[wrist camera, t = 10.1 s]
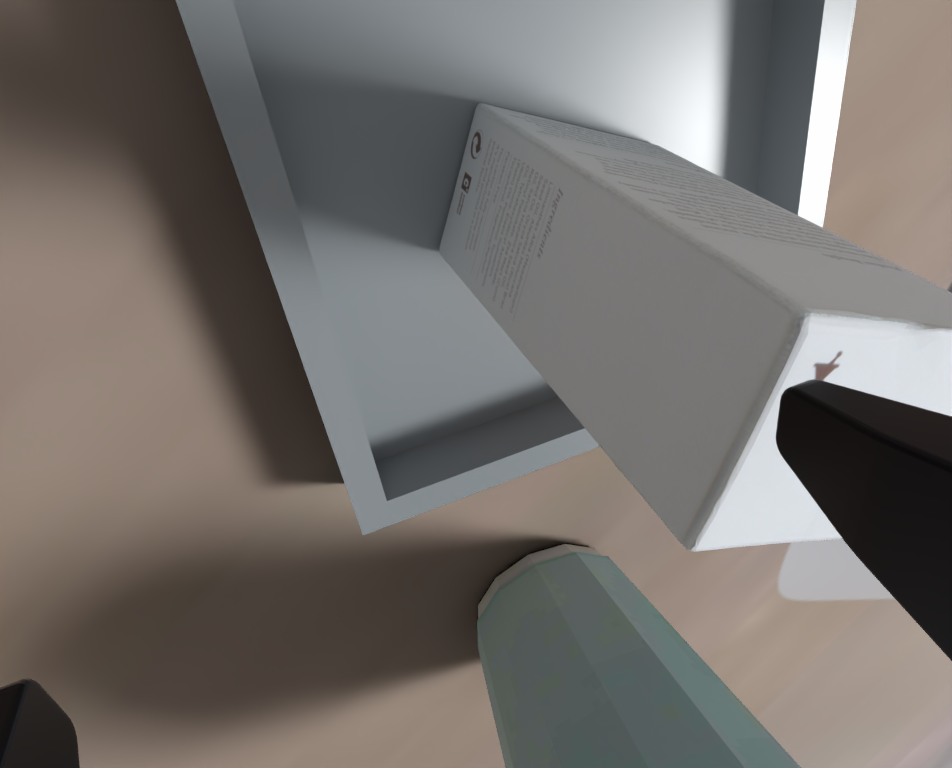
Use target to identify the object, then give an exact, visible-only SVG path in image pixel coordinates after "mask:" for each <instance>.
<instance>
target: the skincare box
mask: <svg viewBox="0 0 952 768" xmlns="http://www.w3.org/2000/svg"><path fill="white" fill-rule="evenodd" d="M439 252H440V254H441V256H442V257H443V258H444V260H445V261H446V262H447V263H448V264H449V265H450V267H451V268H452V269H453V270H454V272H455V273H456V274H457V275H458V276H459V278H460V279H461V280H462V281H463V282H464V284H465V285H466V286H467V287H468V288H469V289H470V291H471V292H472V293H473V294H474V295H475V297H476V298H477V299H478V300H479V302H480V303H481V304H482V305H483V306H484V308H485V309H486V310H487V311H488V312H489V313H490V315H491V316H492V317H493V318H494V319H495V321H496V322H497V323H498V324H499V326H500V327H501V328H502V329H503V330H504V332H505V333H506V334H507V335H508V336H509V338H510V339H511V340H512V341H513V342H514V344H515V345H516V346H517V347H518V349H519V350H520V351H521V352H522V353H523V355H524V356H525V357H526V358H527V359H528V361H529V362H530V363H531V364H532V365H533V367H534V368H535V369H536V370H537V371H538V373H539V374H540V375H541V376H542V377H543V378H544V379H545V380H546V382H547V383H548V384H549V386H550V387H551V388H552V389H553V390H554V391H555V393H556V394H557V395H558V396H559V398H560V399H561V400H562V401H563V402H564V403H565V405H566V406H567V407H568V408H569V410H570V411H571V412H572V413H573V415H574V416H575V417H576V418H577V419H578V420H579V422H580V423H581V424H582V425H583V426H584V428H585V429H586V430H587V431H588V432H589V434H590V435H591V436H592V437H593V438H594V440H595V441H596V442H597V443H598V444H599V446H600V447H601V448H602V449H603V450H604V452H605V453H606V454H607V455H608V456H609V457H610V459H611V460H612V461H613V462H614V464H615V465H616V466H617V467H618V469H619V470H620V471H621V472H622V473H623V475H624V476H625V477H626V478H627V479H628V480H629V482H630V483H631V484H632V485H633V486H634V488H635V489H636V490H637V491H638V492H639V493H640V495H641V496H642V497H643V498H644V499H645V501H646V502H647V503H648V504H649V505H650V507H651V508H652V509H653V510H654V511H655V513H656V514H657V515H658V516H659V517H660V519H661V520H662V521H663V522H664V523H665V525H666V526H667V527H668V528H669V530H670V531H671V532H672V533H673V534H674V536H675V537H676V538H677V539H678V541H679V542H680V543H681V544H682V545H683V546H684V547H685V548H686V549H687V550H690V551H705V550H715V549H724V548H733V547H744V546H755V545H765V544H777V543H791V542H804V541H817V540H830V539H843V538H842V537H841V536H840V535H839V533H838V532H837V531H836V529H835V528H834V526H833V525H832V524H831V522H830V521H829V520H828V518H827V517H826V516H825V514H824V513H823V512H822V510H821V509H820V508H819V506H818V505H817V503H816V502H815V501H814V499H813V498H812V497H811V495H810V494H809V493H808V491H807V490H806V489H805V487H804V486H803V485H802V483H801V482H800V480H799V479H798V478H797V476H796V475H795V474H794V472H793V471H792V470H791V468H790V467H789V466H788V464H787V463H786V462H785V460H784V459H783V457H782V456H781V454H780V452H779V450H778V447H777V444H776V429H777V421H778V413H779V406H780V399H781V395H782V394H783V392H784V391H785V390H786V389H787V388H789V387H792V386H794V385H797V384H799V383H802V382H805V381H807V380H812V379H817V380H822V381H826V382H829V383H833V384H836V385H840V386H844V387H847V388H851V389H855V390H858V391H862V392H865V393H869V394H873V395H876V396H880V397H884V398H887V399H891V400H894V401H898V402H902V403H905V404H909V405H913V406H916V407H920V408H923V409H927V410H931V411H934V412H938V413H941V414H945V415H949V416H952V293H951V292H949V291H947V290H945V289H943V288H941V287H939V286H937V285H936V284H934V283H932V282H930V281H928V280H926V279H924V278H922V277H920V276H918V275H916V274H914V273H912V272H910V271H908V270H906V269H904V268H902V267H900V266H898V265H896V264H894V263H892V262H890V261H888V260H886V259H884V258H882V257H880V256H878V255H876V254H874V253H872V252H870V251H868V250H866V249H864V248H862V247H860V246H858V245H856V244H854V243H852V242H850V241H848V240H846V239H844V238H842V237H840V236H838V235H836V234H834V233H832V232H830V231H828V230H826V229H824V228H822V227H820V226H818V225H816V224H814V223H812V222H810V221H808V220H806V219H804V218H802V217H800V216H798V215H796V214H794V213H792V212H790V211H788V210H786V209H784V208H782V207H780V206H778V205H776V204H773V203H771V202H769V201H767V200H765V199H763V198H761V197H759V196H757V195H755V194H753V193H751V192H749V191H748V190H746V189H744V188H742V187H740V186H738V185H736V184H734V183H732V182H730V181H728V180H726V179H724V178H722V177H720V176H718V175H716V174H714V173H712V172H710V171H708V170H706V169H704V168H702V167H700V166H697V165H696V164H694V163H692V162H690V161H688V160H686V159H684V158H682V157H680V156H678V155H676V154H674V153H672V152H670V151H668V150H666V149H664V148H662V147H660V146H658V145H654V144H650V143H646V142H642V141H638V140H634V139H630V138H626V137H622V136H617V135H613V134H609V133H604V132H600V131H596V130H592V129H588V128H584V127H580V126H576V125H571V124H567V123H563V122H559V121H555V120H551V119H546V118H542V117H538V116H533V115H529V114H525V113H521V112H516V111H512V110H508V109H504V108H499V107H495V106H491V105H487V104H483V103H479V104H478V105H477V107H476V109H475V113H474V117H473V121H472V124H471V128H470V132H469V136H468V140H467V144H466V148H465V151H464V155H463V160H462V164H461V168H460V171H459V175H458V179H457V183H456V186H455V191H454V195H453V199H452V202H451V206H450V209H449V213H448V217H447V221H446V225H445V228H444V232H443V235H442V239H441V244H440V248H439Z"/></svg>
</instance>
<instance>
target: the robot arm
mask: <svg viewBox="0 0 952 768" xmlns="http://www.w3.org/2000/svg"><path fill="white" fill-rule="evenodd" d="M776 444H777V447H778V450H779V452H780V454H781V456H782V457H783V459H784V460H785V462H786V463H787V464H788V466H789V467H790V468H791V470H792V471H793V472H794V474H795V475H796V476H797V478H798V479H799V480H800V482H801V483H802V485H803V486H804V487H805V489H806V490H807V491H808V493H809V494H810V495H811V497H812V498H813V499H814V501H815V502H816V503H817V505H818V506H819V508H820V509H821V510H822V512H823V513H824V514H825V516H826V517H827V518H828V520H829V521H830V522H831V524H832V525H833V526H834V528H835V529H836V531H837V532H838V533H839V535H840V536H841V537H842V538H843V539H844V541H845V542H846V543H847V544H848V546H849V547H850V548H851V549H852V551H853V552H854V553H855V554H856V556H857V557H858V558H859V559H860V560H861V561H862V562H863V563H864V565H865V566H866V567H867V568H868V569H869V570H870V571H871V572H872V574H873V575H874V576H875V577H876V578H877V579H878V580H879V581H880V582H881V584H882V585H883V586H884V587H885V588H886V589H887V590H888V591H889V592H890V593H891V594H892V596H893V597H894V598H895V599H896V600H897V601H898V602H899V603H900V604H901V606H902V607H903V608H904V609H905V610H906V611H907V612H908V613H909V614H910V615H911V617H912V618H913V619H914V620H915V621H916V622H917V623H918V624H919V625H920V627H921V628H922V629H923V630H924V631H925V632H926V633H927V634H928V635H929V636H930V638H931V639H932V640H933V641H934V642H935V643H936V644H937V645H938V646H939V647H940V649H941V650H942V651H943V652H944V653H945V654H946V655H947V656H948V657H949V658H950V660H951V661H952V416H949V415H945V414H941V413H938V412H934V411H931V410H927V409H923V408H920V407H916V406H913V405H909V404H905V403H902V402H898V401H894V400H891V399H887V398H884V397H880V396H876V395H873V394H869V393H865V392H862V391H858V390H855V389H851V388H847V387H844V386H840V385H836V384H833V383H829V382H826V381H822V380H817V379H812V380H807V381H805V382H802V383H799V384H797V385H794V386H792V387H789V388H787V389H786V390H785V391H784V392H783V394H782V395H781V399H780V406H779V413H778V421H777V429H776ZM0 768H80V767H79V755H78V743H77V736H76V732H75V728H74V726H73V723H72V721H71V720H70V718H69V717H68V715H67V714H66V713H65V712H64V711H63V710H62V709H61V708H60V707H59V705H58V704H57V703H56V702H55V701H54V700H53V699H52V698H51V697H50V695H49V694H48V693H47V692H46V691H45V690H44V689H43V688H42V687H41V685H40V684H38V683H37V682H36V681H34V680H32V679H22V680H20V681H17V682H14V683H12V684H9V685H6V686H4V687H1V688H0Z"/></svg>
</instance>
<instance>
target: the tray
mask: <svg viewBox="0 0 952 768" xmlns="http://www.w3.org/2000/svg"><path fill="white" fill-rule="evenodd" d="M176 3H177V6H178V9H179V12H180V15H181V17H182V20H183V23H184V26H185V29H186V32H187V35H188V37H189V40H190V43H191V46H192V49H193V52H194V55H195V57H196V60H197V63H198V66H199V69H200V72H201V75H202V77H203V80H204V83H205V86H206V89H207V92H208V95H209V97H210V100H211V103H212V106H213V109H214V112H215V115H216V117H217V120H218V123H219V126H220V129H221V132H222V135H223V137H224V140H225V143H226V146H227V149H228V152H229V155H230V157H231V160H232V163H233V166H234V169H235V172H236V175H237V177H238V180H239V183H240V186H241V189H242V192H243V195H244V197H245V200H246V203H247V206H248V209H249V212H250V215H251V217H252V220H253V223H254V226H255V229H256V232H257V235H258V237H259V240H260V243H261V246H262V249H263V252H264V255H265V257H266V260H267V263H268V266H269V269H270V272H271V275H272V277H273V280H274V283H275V286H276V289H277V292H278V295H279V297H280V300H281V303H282V306H283V309H284V312H285V315H286V317H287V320H288V323H289V326H290V329H291V332H292V335H293V337H294V340H295V343H296V346H297V349H298V352H299V355H300V357H301V360H302V363H303V366H304V369H305V372H306V375H307V377H308V380H309V383H310V386H311V389H312V392H313V395H314V397H315V400H316V403H317V406H318V409H319V412H320V415H321V417H322V420H323V423H324V426H325V429H326V432H327V435H328V437H329V440H330V443H331V446H332V449H333V452H334V455H335V457H336V460H337V463H338V466H339V469H340V472H341V475H342V477H343V480H344V483H345V486H346V489H347V492H348V495H349V497H350V500H351V503H352V506H353V509H354V512H355V515H356V517H357V520H358V523H359V526H360V529H361V532H362V535H366V534H369V533H371V532H374V531H377V530H379V529H382V528H385V527H387V526H390V525H393V524H395V523H398V522H400V521H403V520H406V519H408V518H411V517H414V516H416V515H419V514H422V513H424V512H427V511H430V510H432V509H435V508H438V507H440V506H443V505H446V504H448V503H451V502H454V501H456V500H459V499H462V498H464V497H467V496H469V495H472V494H475V493H477V492H480V491H483V490H485V489H488V488H491V487H493V486H496V485H499V484H501V483H504V482H507V481H509V480H512V479H515V478H517V477H520V476H523V475H525V474H528V473H531V472H533V471H536V470H538V469H541V468H544V467H546V466H549V465H552V464H554V463H557V462H560V461H562V460H565V459H568V458H570V457H573V456H576V455H578V454H581V453H584V452H586V451H589V450H592V449H594V448H597V447H600V446H599V444H598V443H597V442H596V441H595V440H594V438H593V437H592V436H591V435H590V434H589V432H588V431H587V430H586V429H585V428H584V426H583V425H582V424H581V423H580V422H579V420H578V419H577V418H576V417H575V416H574V415H573V413H572V412H571V411H570V410H569V408H568V407H567V406H566V405H565V403H564V402H563V401H562V400H561V399H560V398H559V396H558V395H557V394H556V393H555V391H554V390H553V389H552V388H551V387H550V386H549V384H548V383H547V382H546V380H545V379H544V378H543V377H542V376H541V375H540V374H539V373H538V371H537V370H536V369H535V368H534V367H533V365H532V364H531V363H530V362H529V361H528V359H527V358H526V357H525V356H524V355H523V353H522V352H521V351H520V350H519V349H518V347H517V346H516V345H515V344H514V342H513V341H512V340H511V339H510V338H509V336H508V335H507V334H506V333H505V332H504V330H503V329H502V328H501V327H500V326H499V324H498V323H497V322H496V321H495V319H494V318H493V317H492V316H491V315H490V313H489V312H488V311H487V310H486V309H485V308H484V306H483V305H482V304H481V303H480V302H479V300H478V299H477V298H476V297H475V295H474V294H473V293H472V292H471V291H470V289H469V288H468V287H467V286H466V285H465V284H464V282H463V281H462V280H461V279H460V278H459V276H458V275H457V274H456V273H455V272H454V270H453V269H452V268H451V267H450V265H449V264H448V263H447V262H446V261H445V260H444V258H443V257H442V256H441V254H440V252H439V248H440V244H441V239H442V235H443V232H444V228H445V225H446V221H447V217H448V213H449V209H450V206H451V202H452V199H453V195H454V191H455V186H456V183H457V179H458V175H459V171H460V168H461V164H462V160H463V155H464V151H465V148H466V144H467V140H468V136H469V132H470V128H471V124H472V121H473V117H474V113H475V109H476V107H477V105H478V104H479V103H483V104H487V105H491V106H495V107H499V108H504V109H508V110H512V111H516V112H521V113H525V114H529V115H533V116H538V117H542V118H546V119H551V120H555V121H559V122H563V123H567V124H571V125H576V126H580V127H584V128H588V129H592V130H596V131H600V132H604V133H609V134H613V135H617V136H622V137H626V138H630V139H634V140H638V141H642V142H646V143H650V144H654V145H658V146H660V147H662V148H664V149H666V150H668V151H670V152H672V153H674V154H676V155H678V156H680V157H682V158H684V159H686V160H688V161H690V162H692V163H694V164H696V165H697V166H700V167H702V168H704V169H706V170H708V171H710V172H712V173H714V174H716V175H718V176H720V177H722V178H724V179H726V180H728V181H730V182H732V183H734V184H736V185H738V186H740V187H742V188H744V189H746V190H748V191H749V192H751V193H753V194H755V195H757V196H759V197H761V198H763V199H765V200H767V201H769V202H771V203H773V204H776V205H778V206H780V207H782V208H784V209H786V210H788V211H790V212H792V213H794V214H796V215H798V216H800V217H802V218H804V219H806V220H808V221H810V222H812V223H814V224H816V225H818V226H820V227H822V228H823V222H824V215H825V208H826V202H827V195H828V188H829V182H830V175H831V168H832V161H833V155H834V148H835V141H836V134H837V128H838V121H839V114H840V107H841V101H842V94H843V87H844V81H845V74H846V67H847V60H848V54H849V47H850V40H851V33H852V27H853V20H854V13H855V6H856V0H176Z"/></svg>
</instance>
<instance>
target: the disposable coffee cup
mask: <svg viewBox="0 0 952 768" xmlns="http://www.w3.org/2000/svg"><path fill="white" fill-rule="evenodd" d="M477 635H478V650H479V655H480V659H481V663H482V668H483V672H484V676H485V681H486V685H487V689H488V694H489V698H490V702H491V706H492V711H493V715H494V719H495V724H496V728H497V732H498V737H499V741H500V745H501V749H502V754H503V758H504V762H505V767H506V768H801V767H800V766H799V765H798V764H797V763H796V762H795V761H794V759H793V758H792V757H791V756H790V755H789V754H788V753H787V752H786V751H785V750H784V749H783V747H782V746H781V745H780V744H779V743H778V742H777V741H776V740H775V739H774V738H773V736H772V735H771V734H770V733H769V732H768V731H767V730H766V729H765V728H764V727H763V725H762V724H761V723H760V722H759V721H758V720H757V719H756V718H755V717H754V716H753V715H752V713H751V712H750V711H749V710H748V709H747V708H746V707H745V706H744V705H743V704H742V702H741V701H740V700H739V699H738V698H737V697H736V696H735V695H734V694H733V693H732V692H731V690H730V689H729V688H728V687H727V686H726V685H725V684H724V683H723V682H722V681H721V679H720V678H719V677H718V676H717V675H716V674H715V673H714V672H713V671H712V670H711V669H710V667H709V666H708V665H707V664H706V663H705V662H704V661H703V660H702V659H701V658H700V656H699V655H698V654H697V653H696V652H695V651H694V650H693V649H692V648H691V647H690V646H689V644H688V643H687V642H686V641H685V640H684V639H683V638H682V637H681V636H680V635H679V633H678V632H677V631H676V630H675V629H674V628H673V627H672V626H671V625H670V624H669V622H668V621H667V620H666V619H665V618H664V617H663V616H662V615H661V614H660V613H659V612H658V610H657V609H656V608H655V607H654V606H653V605H652V604H651V603H650V602H649V601H648V599H647V598H646V597H645V596H644V595H643V594H642V593H641V592H640V591H639V590H638V589H637V587H636V586H635V585H634V584H633V583H632V582H631V581H630V580H629V579H628V578H627V576H626V575H625V574H624V573H623V572H622V571H621V570H620V569H619V568H618V567H617V566H616V564H615V563H614V562H613V561H612V560H611V559H610V558H609V557H608V556H601V555H600V554H599V553H598V552H597V551H596V550H595V549H594V548H589V547H582V546H575V545H569V544H563V545H559V546H556V547H553V548H549V549H546V550H542V551H539V552H535V553H532V554H529V555H527V556H526V557H524V558H523V559H521V560H520V561H519V562H517V563H516V564H514V565H513V566H511V567H510V568H509V569H507V570H506V571H504V572H503V573H502V574H500V575H499V576H497V577H496V578H495V580H494V581H493V583H492V584H491V586H490V587H489V589H488V591H487V592H486V594H485V595H484V597H483V598H482V600H481V601H480V603H479V604H478V621H477Z"/></svg>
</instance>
